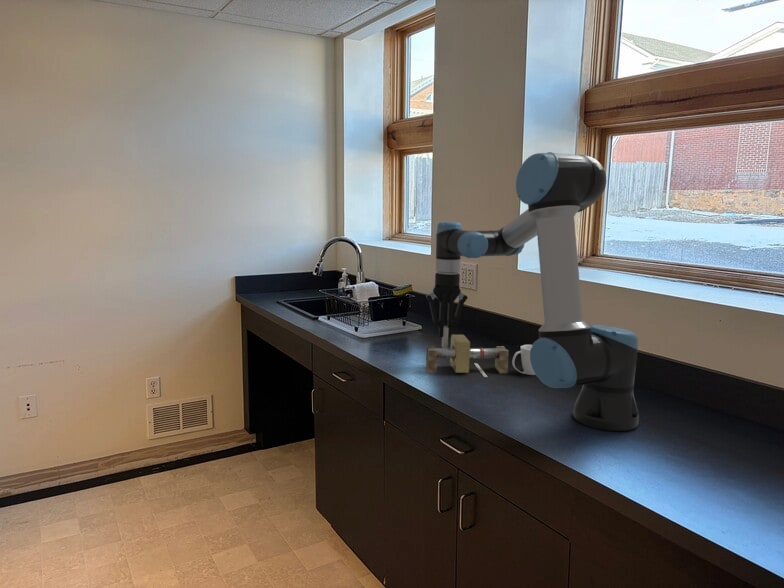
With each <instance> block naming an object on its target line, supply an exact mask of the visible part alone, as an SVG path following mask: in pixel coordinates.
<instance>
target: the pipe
mask: <svg viewBox="0 0 784 588" xmlns="http://www.w3.org/2000/svg"><path fill="white" fill-rule="evenodd" d="M429 350H437V359H450V358H455V348H451V347H448V348H443V347H442V348H440V347H438V348H437V347H435V348H428V354H429ZM500 350H507V348H506V347H505V348H496V347H493V348H492V347H491V348H490V347H488V348H487V347H485V348H484V347H479V348H478V347H473V348H471V347H470V356H469V359H480V360H483V359H495V358H499V356H500Z"/></svg>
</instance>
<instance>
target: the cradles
mask: <svg viewBox="0 0 784 588" xmlns="http://www.w3.org/2000/svg"><path fill="white" fill-rule="evenodd" d="M428 348H436V347H435V345H431V346H429V345H427V346H426V356H425V369H426V371H427V373H428V374H433V375H434V374H437V371H438V369H437V368H438V367H437V365H438V358H437V350H429V354H428ZM495 348H506V346H504V345H501V346H499V345H497V346H495ZM494 359H495V360H494V362H495V363H494V368H495V370H496V371H497V372H498V373H499V374H508V372H509V371H508V370H509V350H508V349H506V350H500V356H499V358H494Z"/></svg>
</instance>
